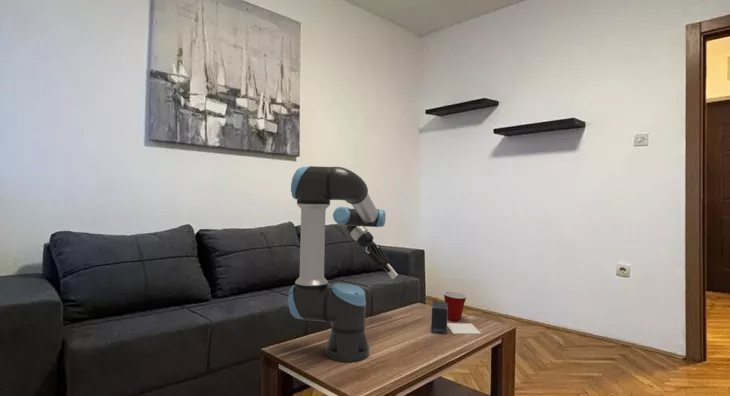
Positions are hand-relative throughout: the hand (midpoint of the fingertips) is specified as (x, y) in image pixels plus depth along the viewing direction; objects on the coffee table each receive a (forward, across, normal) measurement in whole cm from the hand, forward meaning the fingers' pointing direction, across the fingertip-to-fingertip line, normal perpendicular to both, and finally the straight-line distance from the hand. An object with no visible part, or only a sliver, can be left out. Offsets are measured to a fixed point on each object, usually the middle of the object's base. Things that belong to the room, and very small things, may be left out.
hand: (395, 277), depth 182 cm
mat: (+34, -6, +6) cm, 35 cm away
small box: (+29, +1, 0) cm, 29 cm away
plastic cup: (+30, -16, +2) cm, 34 cm away
